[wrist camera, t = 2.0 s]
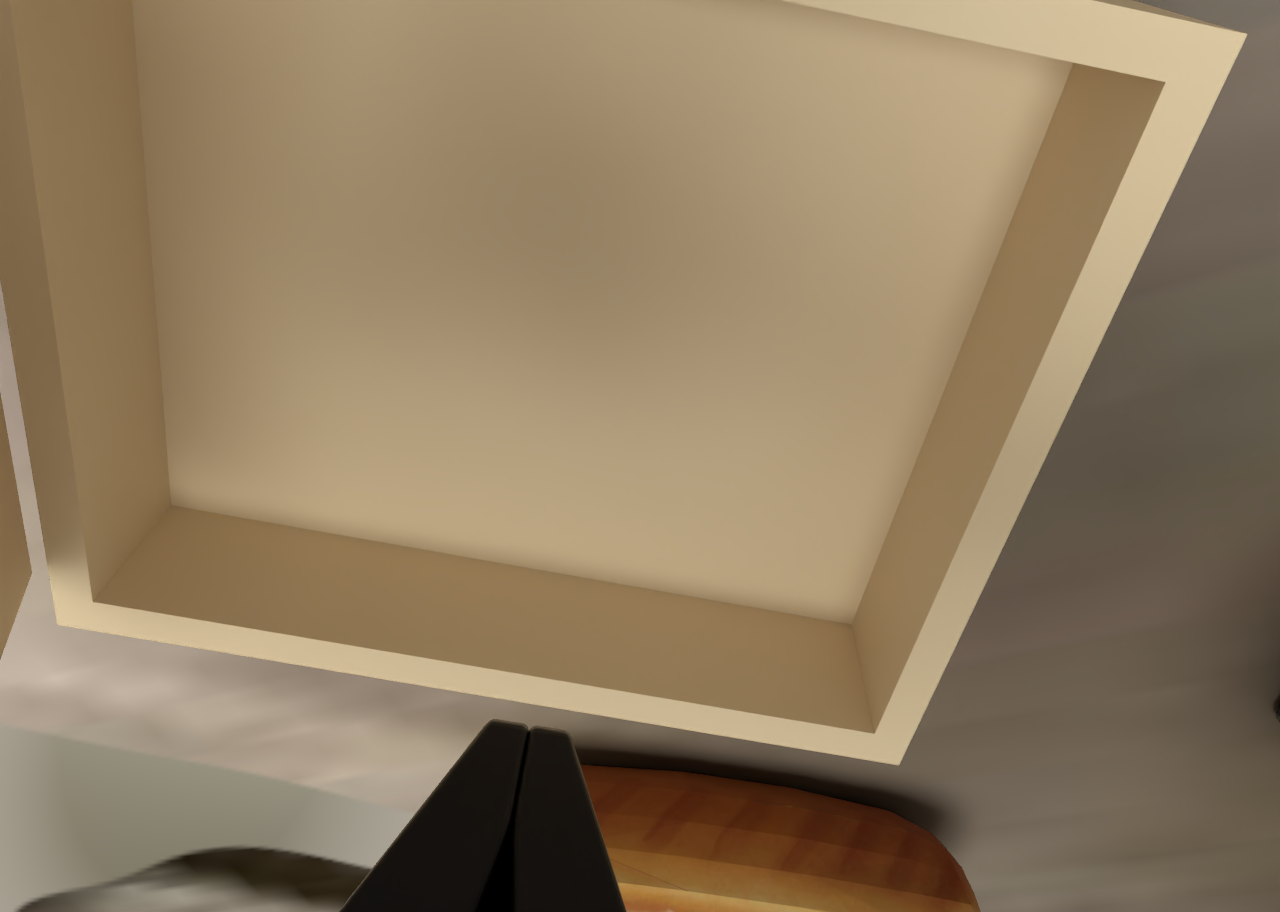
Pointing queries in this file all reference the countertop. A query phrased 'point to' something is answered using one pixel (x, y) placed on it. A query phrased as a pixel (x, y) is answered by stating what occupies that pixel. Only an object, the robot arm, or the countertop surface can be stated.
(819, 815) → the hot dog
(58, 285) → the cream shallow tray
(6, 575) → the flap
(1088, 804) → the countertop surface
